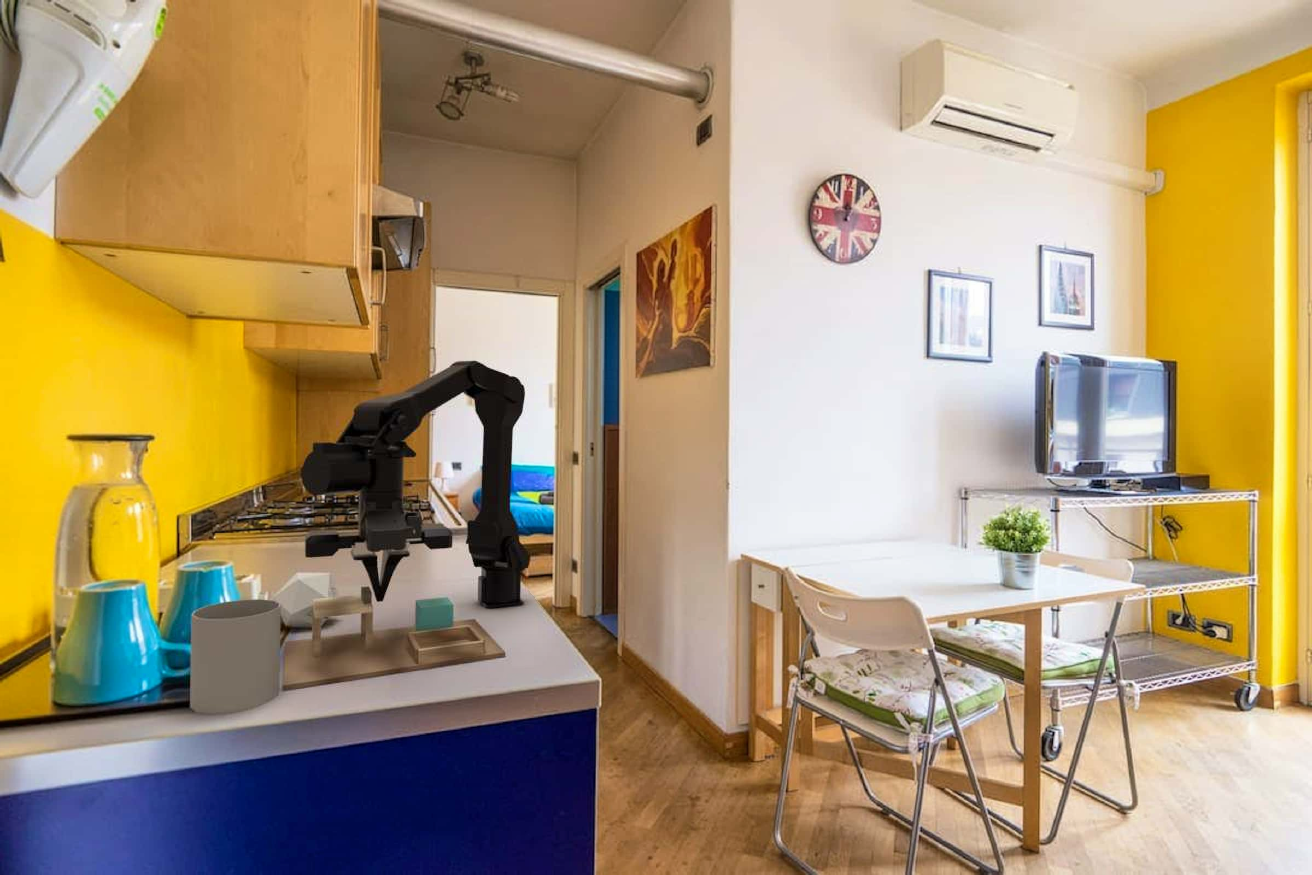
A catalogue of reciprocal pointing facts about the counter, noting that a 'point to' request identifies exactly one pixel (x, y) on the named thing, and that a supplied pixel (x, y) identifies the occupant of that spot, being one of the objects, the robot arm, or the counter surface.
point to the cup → (234, 655)
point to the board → (385, 653)
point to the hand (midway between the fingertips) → (379, 601)
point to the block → (433, 614)
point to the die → (304, 597)
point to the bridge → (344, 607)
